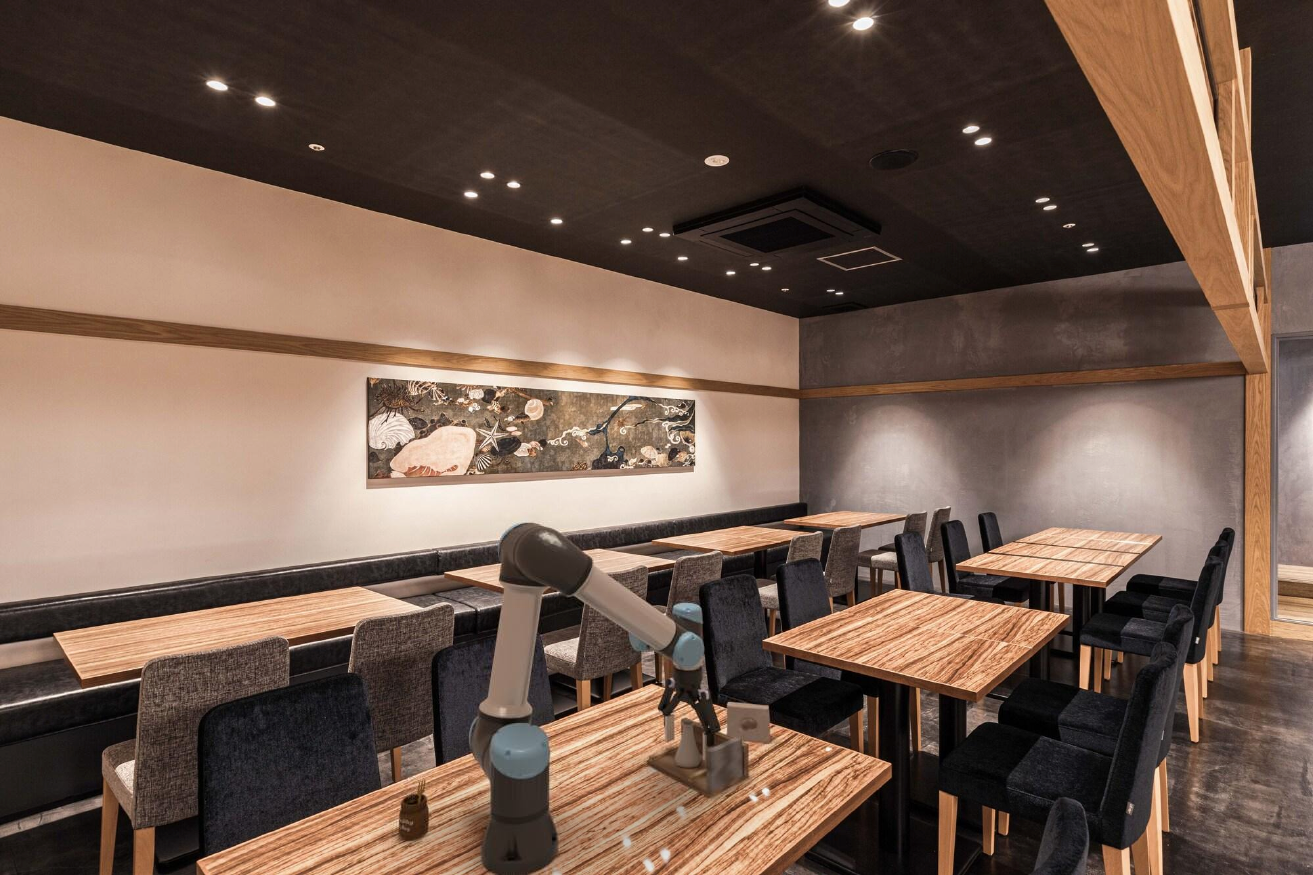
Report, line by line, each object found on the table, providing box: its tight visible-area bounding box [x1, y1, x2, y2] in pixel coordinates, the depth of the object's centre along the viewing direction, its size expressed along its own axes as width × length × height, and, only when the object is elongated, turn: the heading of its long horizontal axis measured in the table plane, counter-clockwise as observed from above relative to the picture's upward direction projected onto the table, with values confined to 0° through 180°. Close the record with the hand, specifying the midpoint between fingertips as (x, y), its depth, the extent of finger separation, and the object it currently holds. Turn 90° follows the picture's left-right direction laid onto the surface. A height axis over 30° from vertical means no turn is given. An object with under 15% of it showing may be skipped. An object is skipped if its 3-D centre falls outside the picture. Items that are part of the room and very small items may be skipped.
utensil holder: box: [398, 776, 430, 841], centre depth 138 cm, size 6×6×12 cm
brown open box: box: [646, 717, 750, 799], centre depth 164 cm, size 14×22×10 cm, turn 42°
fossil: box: [726, 701, 772, 744], centre depth 183 cm, size 12×4×10 cm, turn 78°
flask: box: [674, 720, 702, 768], centre depth 167 cm, size 7×7×10 cm
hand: (688, 749), depth 167 cm, fingers open, 13 cm apart
